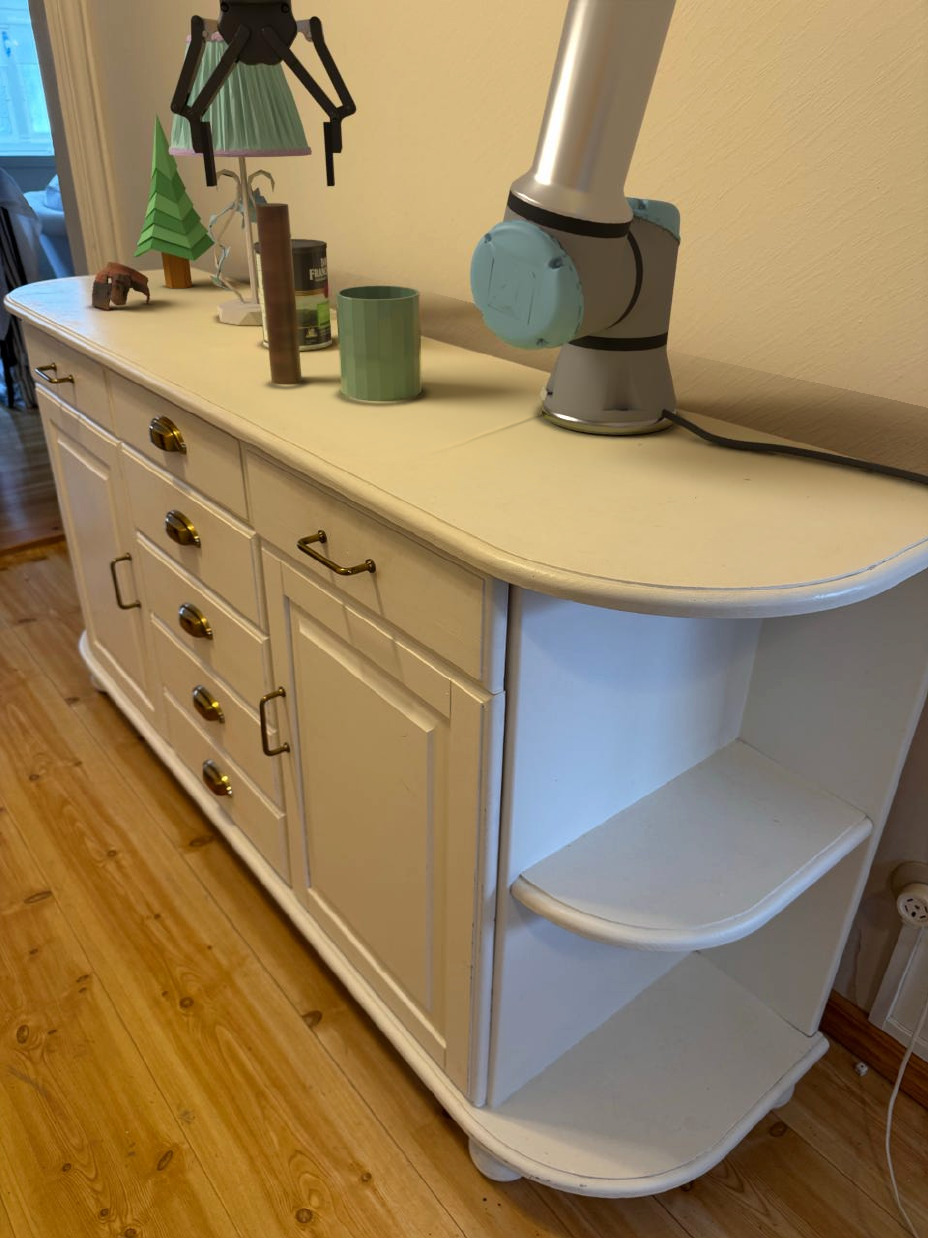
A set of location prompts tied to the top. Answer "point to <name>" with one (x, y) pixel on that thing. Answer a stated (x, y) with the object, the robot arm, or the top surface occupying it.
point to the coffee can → (306, 293)
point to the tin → (379, 342)
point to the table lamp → (243, 150)
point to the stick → (279, 292)
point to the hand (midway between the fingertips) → (271, 185)
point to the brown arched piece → (117, 285)
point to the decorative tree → (171, 218)
